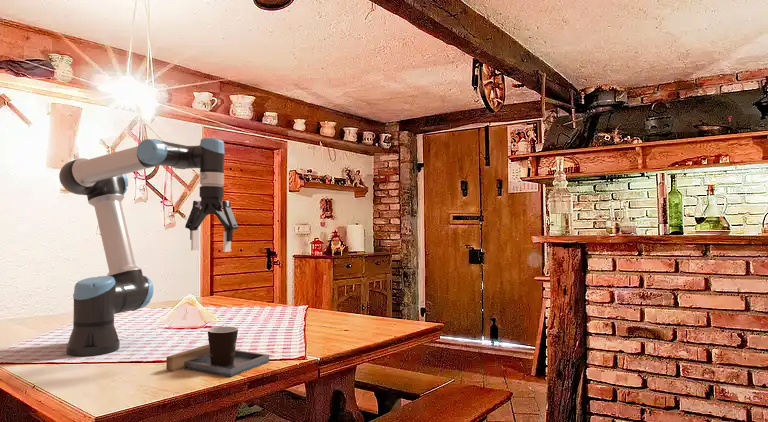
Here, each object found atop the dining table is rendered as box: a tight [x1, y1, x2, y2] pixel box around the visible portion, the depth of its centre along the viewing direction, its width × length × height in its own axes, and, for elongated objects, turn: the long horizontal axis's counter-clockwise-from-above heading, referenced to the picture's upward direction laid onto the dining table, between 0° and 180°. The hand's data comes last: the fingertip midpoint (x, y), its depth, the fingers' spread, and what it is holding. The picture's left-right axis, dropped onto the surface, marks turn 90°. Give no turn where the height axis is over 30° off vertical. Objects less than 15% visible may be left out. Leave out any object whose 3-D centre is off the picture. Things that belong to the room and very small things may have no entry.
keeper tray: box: [183, 349, 270, 378], centre depth 155 cm, size 17×17×2 cm
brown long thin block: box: [165, 343, 210, 373], centre depth 158 cm, size 2×20×4 cm, turn 155°
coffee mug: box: [207, 326, 239, 367], centre depth 156 cm, size 12×9×10 cm
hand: (210, 251), depth 171 cm, fingers open, 13 cm apart
